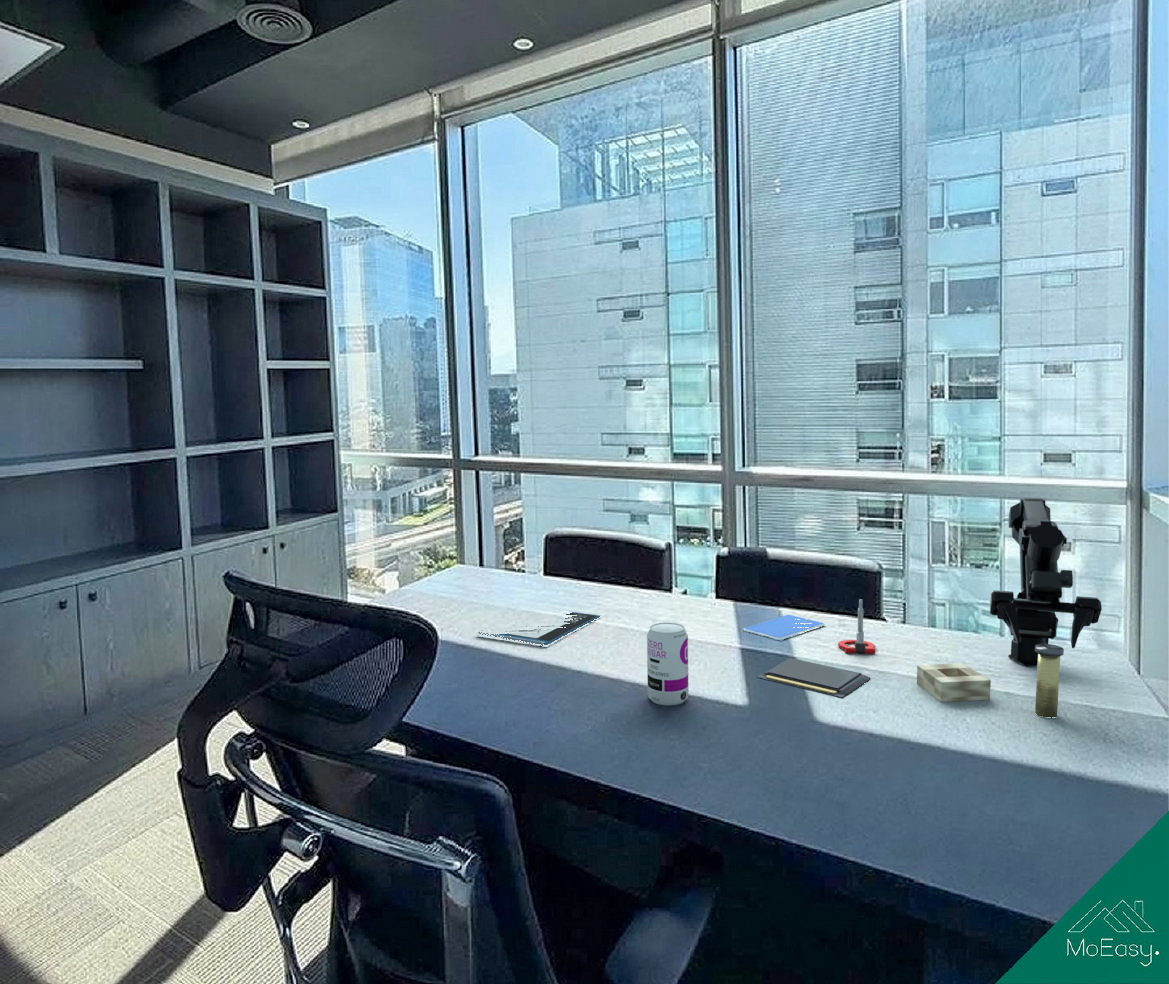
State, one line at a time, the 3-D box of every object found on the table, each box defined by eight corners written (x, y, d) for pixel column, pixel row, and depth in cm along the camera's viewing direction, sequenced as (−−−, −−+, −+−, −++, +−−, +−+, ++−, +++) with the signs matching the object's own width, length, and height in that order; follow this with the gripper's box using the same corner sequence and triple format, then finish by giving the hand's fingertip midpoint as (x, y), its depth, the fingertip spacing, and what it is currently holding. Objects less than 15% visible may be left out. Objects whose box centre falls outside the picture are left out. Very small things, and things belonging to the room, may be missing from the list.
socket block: (962, 681, 166) (963, 663, 165) (989, 699, 156) (990, 680, 155) (916, 683, 165) (917, 665, 165) (940, 701, 155) (941, 682, 155)
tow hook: (835, 643, 194) (842, 654, 185) (836, 592, 193) (842, 600, 184) (871, 644, 193) (879, 655, 183) (871, 592, 192) (880, 600, 183)
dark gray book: (873, 673, 168) (841, 693, 157) (873, 681, 169) (841, 702, 158) (789, 653, 182) (754, 671, 171) (789, 661, 182) (754, 680, 171)
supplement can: (691, 693, 163) (691, 623, 161) (683, 708, 155) (682, 635, 153) (653, 689, 165) (652, 620, 164) (643, 704, 158) (642, 632, 156)
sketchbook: (600, 620, 220) (600, 613, 220) (544, 651, 194) (544, 643, 194) (535, 611, 230) (535, 604, 230) (474, 639, 204) (473, 632, 204)
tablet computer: (780, 643, 195) (780, 638, 195) (741, 632, 205) (741, 627, 205) (826, 628, 207) (826, 623, 207) (787, 618, 217) (787, 613, 217)
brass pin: (1049, 709, 150) (1053, 643, 149) (1066, 719, 146) (1069, 651, 144) (1026, 710, 150) (1029, 644, 148) (1042, 720, 145) (1045, 652, 144)
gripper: (992, 551, 158) (993, 619, 149) (1102, 557, 150) (1110, 628, 142) (989, 581, 166) (990, 647, 157) (1093, 588, 158) (1100, 657, 150)
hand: (1045, 644), depth 151 cm, fingers open, 9 cm apart
